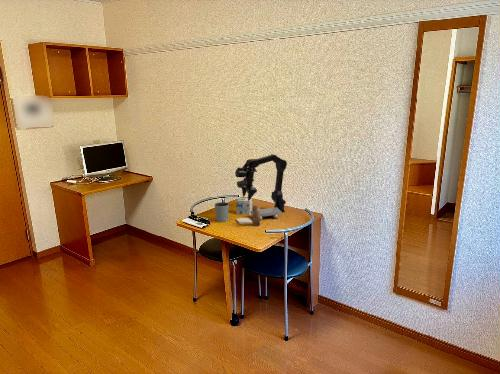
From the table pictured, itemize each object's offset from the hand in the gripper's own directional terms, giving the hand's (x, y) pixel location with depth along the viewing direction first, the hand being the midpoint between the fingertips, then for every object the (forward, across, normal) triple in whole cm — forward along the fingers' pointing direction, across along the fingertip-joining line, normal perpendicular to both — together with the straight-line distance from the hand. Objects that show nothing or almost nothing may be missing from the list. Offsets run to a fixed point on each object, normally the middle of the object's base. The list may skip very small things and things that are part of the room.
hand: (246, 198), depth 274 cm
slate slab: (+12, +8, +14) cm, 20 cm away
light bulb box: (+14, -8, +5) cm, 17 cm away
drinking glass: (+17, -1, -15) cm, 23 cm away
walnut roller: (+13, +18, +2) cm, 22 cm away
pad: (+14, +8, -3) cm, 17 cm away
